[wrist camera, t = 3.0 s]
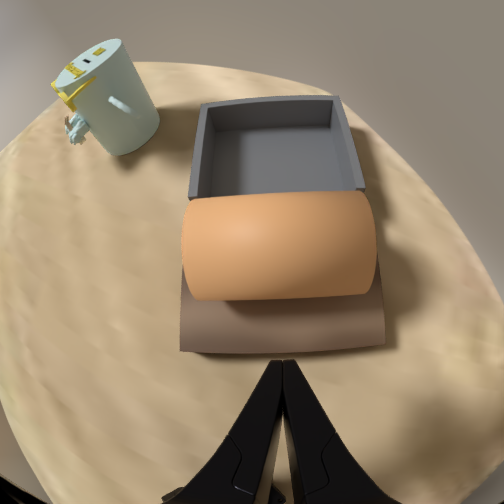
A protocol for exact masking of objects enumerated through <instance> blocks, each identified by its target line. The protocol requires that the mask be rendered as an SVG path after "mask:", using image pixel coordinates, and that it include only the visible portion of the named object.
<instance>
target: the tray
mask: <svg viewBox="0 0 504 504" xmlns="http://www.w3.org/2000/svg"><path fill="white" fill-rule="evenodd" d="M365 188H366V187H365V183H364V179H363V175H362V171H361V167H360V163H359V159H358V155H357V152H356V148H355V145H354V141H353V138H352V134H351V131H350V128H349V125H348V121H347V118H346V115H345V112H344V109H343V106H342V103H341V100H340V98H339V96H328V95H298V96H273V97H258V98H246V99H237V100H228V101H220V102H213V103H206V104H201V108H200V114H199V120H198V126H197V132H196V139H195V145H194V152H193V159H192V167H191V175H190V183H189V191H188V198H189V200H190V201H191V200H193V199H200V198H211V197H223V196H236V195H250V194H266V193H285V192H310V191H361V192H363V193H364V190H365Z"/></svg>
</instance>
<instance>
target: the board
mask: <svg viewBox="0 0 504 504" xmlns="http://www.w3.org/2000/svg"><path fill="white" fill-rule="evenodd" d="M382 344H386V338H385V320H384V307H383V296H382V287H381V278H380V270H379V262H378V255H377V256H376V267H375V273H374V278H373V281H372V284H371V287H370V289H369V290H368V292H367V293H365V294H358V295H344V296H329V297H312V298H292V299H267V300H225V301H198V300H196V299H195V298H194V297H193V295H192V294H191V292H190V290H189V287H188V284H187V281H186V277H185V273H184V268H183V269H182V287H181V311H180V351H183V352H202V353H292V352H311V351H325V350H338V349H348V348H358V347H367V346H375V345H382Z"/></svg>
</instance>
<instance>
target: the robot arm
mask: <svg viewBox="0 0 504 504" xmlns="http://www.w3.org/2000/svg"><path fill="white" fill-rule="evenodd" d="M282 417H283V420H284V428H285V435H286V443H287V450H288V458H289V466H290V473H291V481H292V489H293V497H294V504H402V503H400V502H398V501H396V500H394V499H393V498H391V497H389V496H388V495H387V494H385V493H384V492H383V491H382V490H381V489H380V488H379V487H378V486H377V485H376V484H375V483H374V481H373V480H372V479H371V478H370V477H369V476H368V474H367V473H366V472H365V471H364V470H363V469H362V467H361V466H360V465H359V464H358V463H357V461H356V460H355V459H354V457H353V456H352V455H351V454H350V452H349V451H348V449H347V448H346V446H345V445H344V443H343V442H342V440H341V438H340V437H339V435H338V433H337V432H336V430H335V428H334V427H333V425H332V423H331V421H330V420H329V418H328V416H327V415H326V413H325V411H324V409H323V408H322V406H321V404H320V403H319V401H318V399H317V397H316V396H315V394H314V392H313V390H312V389H311V387H310V385H309V383H308V382H307V380H306V378H305V377H304V375H303V373H302V371H301V370H300V368H299V366H298V364H297V362H296V361H295V360H294V359H290V360H283V362H282V360H271V361H270V362H269V364H268V366H267V367H266V369H265V371H264V373H263V375H262V376H261V378H260V380H259V382H258V384H257V385H256V387H255V389H254V391H253V392H252V394H251V396H250V398H249V399H248V401H247V403H246V404H245V406H244V408H243V409H242V411H241V413H240V414H239V416H238V418H237V419H236V421H235V423H234V424H233V426H232V428H231V429H230V431H229V433H228V435H226V437H225V439H224V440H223V442H222V443H221V445H220V446H219V448H218V449H217V451H216V452H215V453H214V455H213V456H212V457H211V458H210V460H209V461H208V462H207V463H206V464H205V466H204V467H203V468H202V469H201V470H200V471H199V472H198V473H197V474H196V475H195V476H194V478H193V479H192V480H191V481H190V482H189V483H188V484H187V485H186V486H185V487H180V488H177V489H176V490H174V491H172V492H170V493H168V494H166V495H165V496H163V497H162V501H163V503H162V504H284V503H285V502H286V498H285V496H284V495H283V494H282V493H281V492H280V491H279V490H278V489H277V488H276V487H275V486H274V485H273V484H272V477H273V472H274V467H275V461H276V455H277V450H278V444H279V438H280V431H281V425H282ZM278 499H282V500H281V501H279V500H278ZM0 504H49V503H47V502H45V501H43V500H42V499H40V498H38V497H37V496H35V495H33V494H31V493H30V492H28V491H26V490H25V489H23V488H21V487H20V486H18V485H17V484H15V483H13V482H12V481H10V480H9V479H7V478H6V477H4V476H3V475H2V474H0ZM499 504H504V500H503V501H502V502H500V503H499Z"/></svg>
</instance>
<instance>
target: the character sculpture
mask: <svg viewBox="0 0 504 504" xmlns="http://www.w3.org/2000/svg"><path fill="white" fill-rule="evenodd" d="M51 86H52V87H53V89H54V90H55V91H56V92H57V94H58V95H59V96H60V98H61V99H63V101H64V102H65V104H66V105H67V106H68V107H69V108H70V110H71V111H72V112H74V111H75V113H76V114H75V115H74V116H73V117H72V119H70V121H68V115H67V116H66V117H65V129H66V134H68V133H69V138H70V143H71V144H72V143H74V145H76V143H80V144H81V145H82V144H83V143H84V142H85V141H86V138H85V137H84V135H85V134H86V133H87V132H88V131H89V130H90V132H91V133H92V134H93V135H94V137H95V138H96V139H97V140H98V141H99V143H100V144H101V145H102V146H103V148H104V149H105V150H106V151H107V152H108V153H110V154H111V155H118V156H120V155H124V154H128V153H130V152H132V151H134V150H137V149H138V148H140V147H141V146H142V145H144V144H145V143H146V142H147V141H148V140H149V139H150V138H151V137H152V136H153V135H154V133H155V132H156V130H157V129H158V126H159V123H160V117H159V114H158V112H157V110H156V108H155V106H154V104H153V102H152V100H151V98H150V96H149V94H148V92H147V90H146V89H145V87H144V85H143V83H142V81H141V79H140V77H139V75H138V73H137V71H136V69H135V67H134V65H133V63H132V61H131V59H130V57H129V55H128V53H127V51H126V49H125V47H124V45H123V43H122V41H121V40H120V39H112V40H108V41H105V42H102V43H100V44H98V45H96V46H94V47H92V48H90V49H89V50H87V51H86V52H84V53H83V54H81V55H80V56H78V57H77V58H76V59H75V60H73V61H72V62H71V63H70V64H68V65H67V66H66V67H65V69H64V70H63V71H62V72H61V74H60V75H59V76H58V78H57V79H56V80H55V81H54V82H52V84H51Z"/></svg>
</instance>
